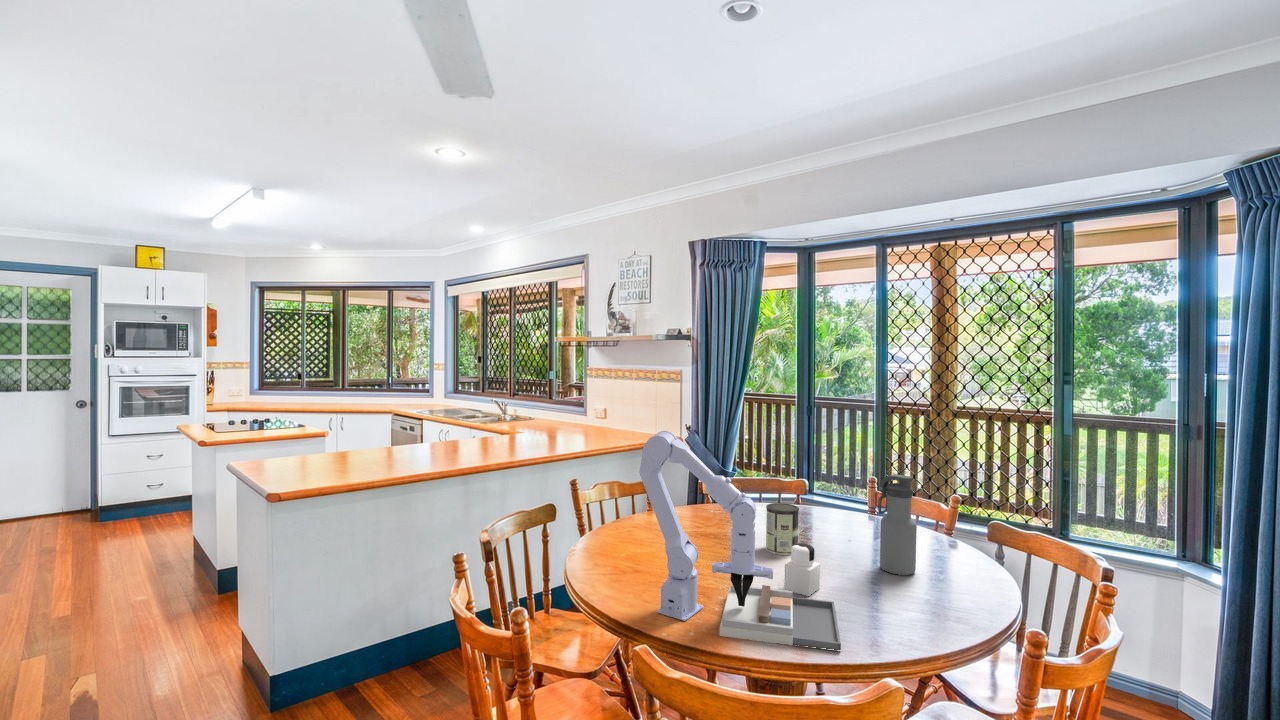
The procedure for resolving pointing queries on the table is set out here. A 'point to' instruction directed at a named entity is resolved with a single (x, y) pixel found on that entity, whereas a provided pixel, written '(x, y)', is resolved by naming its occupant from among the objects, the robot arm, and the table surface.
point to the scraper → (764, 604)
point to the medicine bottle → (802, 570)
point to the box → (815, 624)
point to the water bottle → (897, 526)
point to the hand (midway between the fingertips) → (741, 604)
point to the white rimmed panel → (754, 618)
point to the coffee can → (781, 528)
